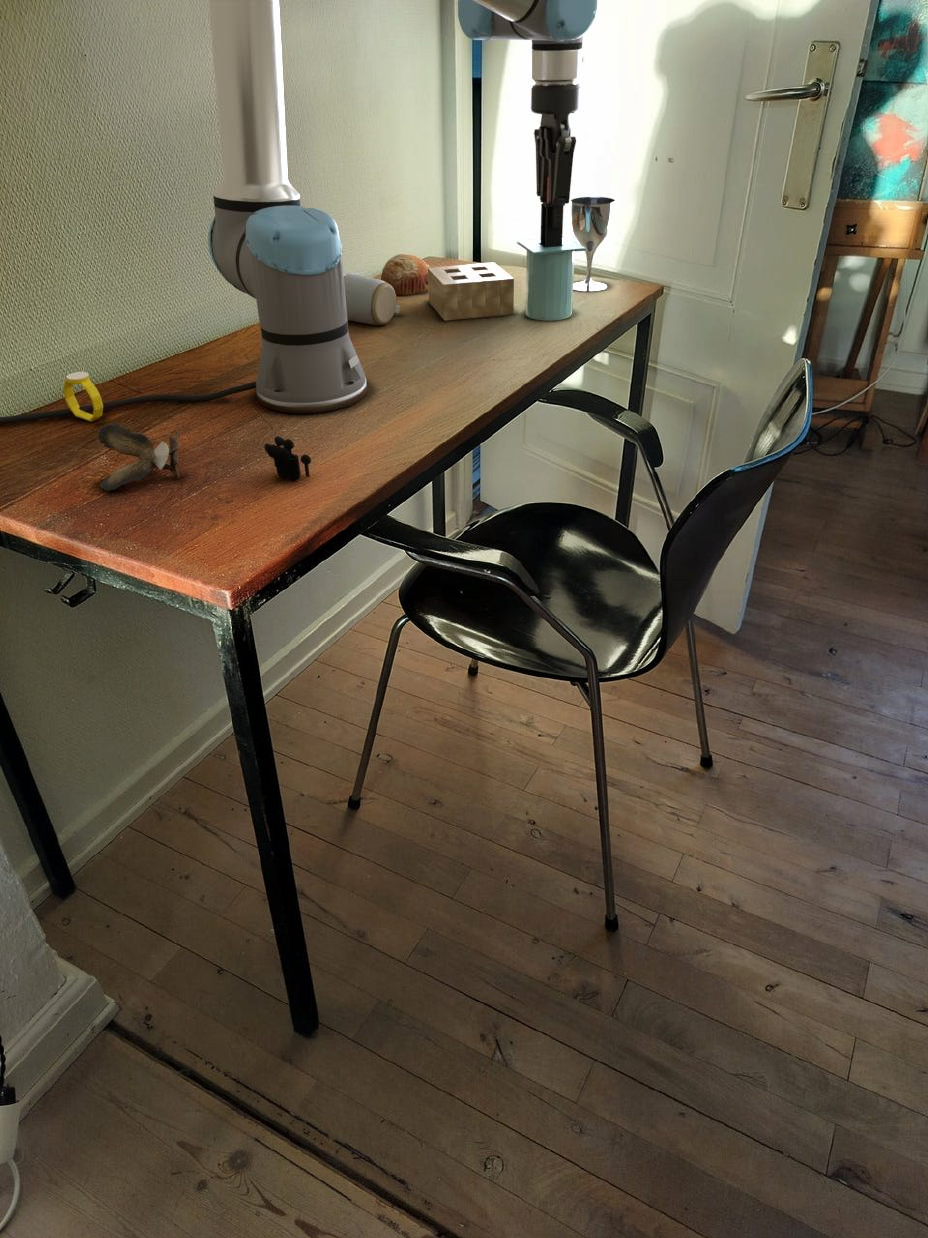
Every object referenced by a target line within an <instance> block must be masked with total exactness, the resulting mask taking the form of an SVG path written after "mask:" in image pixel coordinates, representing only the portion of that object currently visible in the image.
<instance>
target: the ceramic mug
mask: <svg viewBox="0 0 928 1238" xmlns="http://www.w3.org/2000/svg"><path fill="white" fill-rule="evenodd" d="M344 285H345V297H346V308H347V321H350V322H355V323H360V324H361V323H362V324H367V325H373V326H383V325H386V324H388V323H389V322H390V321H391V320H392V318H393V316H394V315H396V316H397V315H399V313H400V305H399V304H397V295H396V294H395V291H394V289H393V287H392V286H391V285H390V284H388V283H386V282H384V281H382V280H381V279H380V278H379V279H378V278H373V277H370V276H366V275H362V274H359V273H355V272H349V273H347V274H344Z"/></svg>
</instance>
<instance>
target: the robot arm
mask: <svg viewBox="0 0 928 1238" xmlns="http://www.w3.org/2000/svg"><path fill="white" fill-rule="evenodd" d="M207 2H208V12H209V23H210V37H211V45H212V47H211V48H212V57H213V60H212V61H213V70H214V71H213V72H214V83H215V95H216V96H215V97H216V105H217V119H218V120H217V121H218V131H219V132H218V133H219V142H220V143H219V144H220V154H221V156H220V157H221V165H222V180H221V181H220V183H219V184H218V185H217V186H216V187H215V189H214V190H213V192H212V195H213V197H212V198H213V207H214V217H213V218H212V221H211V222H210V225H209V228H208V236H207V245H208V251H209V256H210V258H211V260H212V263H213V264H214V266H215V268H216V269H217V271H218V272H219V273H220V274H221V276H222V277H223V278H224V280H225V281H226V282H227V283H229V284H230V285H232V287H233V288H235V289H236V290H238V291H239V292H242V293H243V294H247V295H248V296H249V297H251V298H252V299H254V300H256V301H255V302H256V308H257V314H258V319H259V327H260V333H261V340H262V341H261V343H262V344H261V349H260V356H259V360H258V361H259V362H258V368H257V374H256V380H255V381H252V382H248V383H243V384H240V385H235V386H232V387H229V388H225V389H222V390H219V391H216V392H212V393H205V394H174V393H172V394H171V393H170V394H167V393H165V394H150V395H148V394H147V395H142V396H134V397H128V398H123V399H118V400H113V401H107V402H102V403H103V411H105V410H109V409H115V408H120V407H125V406H126V407H127V406H131V405H137V404H144V403H153V402H182V403H183V402H185V403H186V402H187V403H188V402H189V403H197V402H200V403H201V402H209V401H214V400H218V399H221V398H225V397H228V396H231V395H234V394H239V393H242V392H246V391H250V390H254V389H255V392H256V398H257V402H259V404H260V405H261V406H263V407H264V408H267V409H270V410H272V411H276V412H281V413H287V414H289V413H290V414H317V413H325V412H330V411H336V410H340V409H342V408H346V407H349V406H351V405H353V404H356V403H357V402H359V401H360V400H362V399H363V398H364V397H365V396H366V394H367V392H368V385H367V378H366V374H365V370H364V369H363V366H362V363H361V361H360V359H359V356H358V355H357V354H358V353H357V351H356V350H355V347H354V344H353V342H352V340H351V337H350V332H349V331H350V330H349V322H348V321H349V320H347V308H346V297H345V285H344V276H345V274H344V263H343V243H342V241H341V237H340V232H339V226H338V223H337V222H336V220H335V219H334V218H333V217H332V216H331V215H330V214H329V213H327V212H324V211H323V210H321V209H317V208H314V207H305V206H302V205H301V195H300V193H299V192H298V191H297V190H296V189H295V187H294V186H293V185H292V184H291V183H290V181H289V175H288V173H289V172H288V153H287V151H288V150H287V134H286V115H285V114H286V113H285V96H284V95H285V94H284V73H283V72H284V71H283V51H282V34H281V33H282V32H281V14H280V13H281V11H280V10H281V9H280V0H208V1H207ZM597 10H598V0H457V18H458V22H459V25H460V28H461V31H462V33H463V34H464V35H465V37H467V38H468V39H470V40H472V41H484V42H489V41H495V40H496V41H497V40H512V41H513V40H515V41H517V40H518V41H519V40H521V41H531V52H530V53H531V54H530V55H531V57H530V58H531V59H530V79H531V81H532V82H534V84H533V85H532V87H531V89H530V110H531V112H532V113H534V114H536V115H541V117H540V126H539V127H538V128H535V129H534V130H533V137H534V143H535V178H536V179H535V180H536V196H537V197H539V201H540V203H541V204H540V205H541V208H540V210H541V211H540V239H541V240H540V245H541V246H545V247H557V246H562V238H563V234H564V233H563V232H564V231H563V229H564V207H565V206H566V205H567V204H569V203H570V198H571V197H570V196H571V185H572V173H573V164H574V153H575V148H576V144H577V138H576V136H571V133H572V132H571V131H572V130H571V127H570V117H569V116H570V114H575V113H577V112H579V111H580V109H581V108H580V107H581V90H582V89H581V86H580V84H579V83H577V81H579V80H580V79H581V77H582V64H583V63H584V62H585V57H584V55H582V54H583V40H584V39H583V37H584V35H585V34H586V33H587V32H589V30H590V29H591V26H592V25H593V23H594V20H595V17H596V14H597ZM548 177H549V202H548V203H547V185H548ZM79 409H80V410H82V411H84V412H87V413H91V412H92V413H93V410H94V408H93V404H87V405H80V407H79ZM72 415H74V413H73V412H72V411H71V410H70V408H69V407H68V408H61V409H53V410H48V411H47V410H46V411H40V412H32V413H23V414H16V415H8V416H0V425H4V424H14V423H21V422H30V421H37V420H45V419H52V418H59V417H66V416H72Z"/></svg>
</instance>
